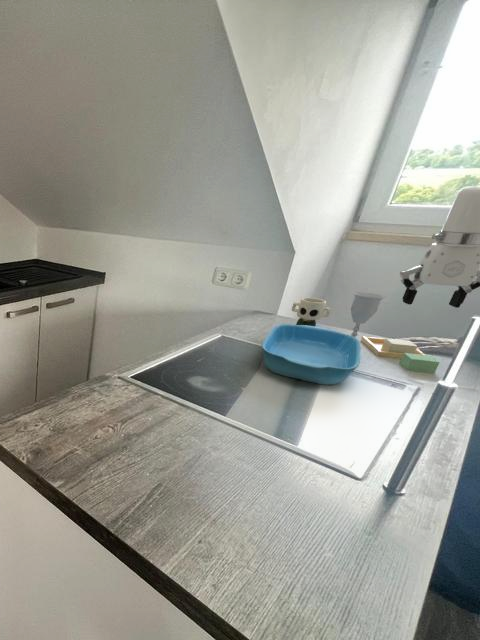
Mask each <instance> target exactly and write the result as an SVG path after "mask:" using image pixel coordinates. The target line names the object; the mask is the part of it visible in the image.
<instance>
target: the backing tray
mask: <svg viewBox="0 0 480 640" xmlns="http://www.w3.org/2000/svg"><path fill="white" fill-rule="evenodd" d="M384 340H385V338H384V337H373V336H364V335H362V336H361V339H360V341H361V342H362V343H363V344H364V345H365V346H366V347H367V348H368V349H369V350H370V351H371V352H372V353H373V354H374V355H376V357H381V358H390V359H399V360H401V358H402V356H403V353H394V352H385V351H382V350H381V348H382V345H383V343H384ZM414 354H420V355H426V354H425V353H424V352H423V351H421V350H420V349H419V348H417V349H416V351H415V353H414Z"/></svg>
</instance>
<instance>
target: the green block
mask: <svg viewBox="0 0 480 640" xmlns="http://www.w3.org/2000/svg"><path fill="white" fill-rule="evenodd" d="M440 363H441V362H440V361H439V360H438V359H436V358H435V357H433V356H432V355H428V354H425V355H420V354H411V353H403V356H402V358H401V359H399V365H400V366H401V367H403V368H404V369H405V370H406V371H413V372H420V373H428V374H435V373H436V371H437V369H438V368H439V367H438V366H440Z"/></svg>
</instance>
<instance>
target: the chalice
mask: <svg viewBox="0 0 480 640" xmlns="http://www.w3.org/2000/svg"><path fill="white" fill-rule="evenodd" d="M353 296H354V299H353V301H352V304H351V307H350V315H351V319H352V323H353V322H354V323H355V326H354V327H353V328H352V330H353V331H352V333H350V336H353V337H355V338H357V336H358V332H359V331H360V326H361V325H364V324H366V322H368V321H369V320H370V319H371V318H372V317H374V315H375V314H376V313H377V311H378V310H379V307H380V304H381V301H382V300H383V299H384V298H385V295H383V294H379V293H374V292H364V291H363V292H361V291H360V292H354V293H353Z"/></svg>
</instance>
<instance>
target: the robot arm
mask: <svg viewBox="0 0 480 640" xmlns="http://www.w3.org/2000/svg"><path fill="white" fill-rule="evenodd" d="M431 240H435V242H434V243H432V244H431V245H430V247H429V248H428V249H427V251H426V252H425V254H424V255H423V256H422V259H421V261H420V262H419V264H418V266H413V267H411V268H408V269H404V270H401V271H400V272H399V276H400V281H401V283H402V284H403V286H404V287H405V288H406V289H405V291H404V293H403V295H402V302H403V303H404V304H406V305H412V304H413V302H414V300H415V298H416V297H417V296H416V295H417V293H418V290H417V289H418V288H419V287H421V286H423V285H424V284H425V285H431V286H432V285H433V286H451V287H452V286H453V287H457V290H454V291H453V294H452V296H451V298H450V299H449V302H448V305H449V306H451V307H453V308H455V309H457V308H460V307H461V305H462V304H463V303H464V301H465V299H466V297H467V295H468V294H470V293H472V292H473V290H475V289H477V288H480V270H479V269H480V185H469V186H464V187H462V188H461V189H459V190H458V192H457V193H456V196H455V198H454V200H453V202H452V205H451V207H450V209H449V211H448V214H447V217H446V219H445V221H444V223H443V226H442V228H441V230H440V231H439V233H433V234H432V235H431ZM411 275H414V276H413V279H412V280H411V279H410V276H411ZM475 278H476V279H475Z"/></svg>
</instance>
